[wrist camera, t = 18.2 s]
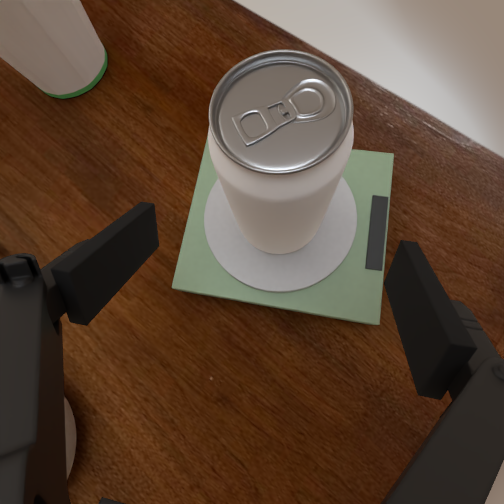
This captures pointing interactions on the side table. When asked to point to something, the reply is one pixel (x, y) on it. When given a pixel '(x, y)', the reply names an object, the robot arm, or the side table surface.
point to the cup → (52, 45)
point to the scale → (303, 260)
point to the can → (280, 144)
